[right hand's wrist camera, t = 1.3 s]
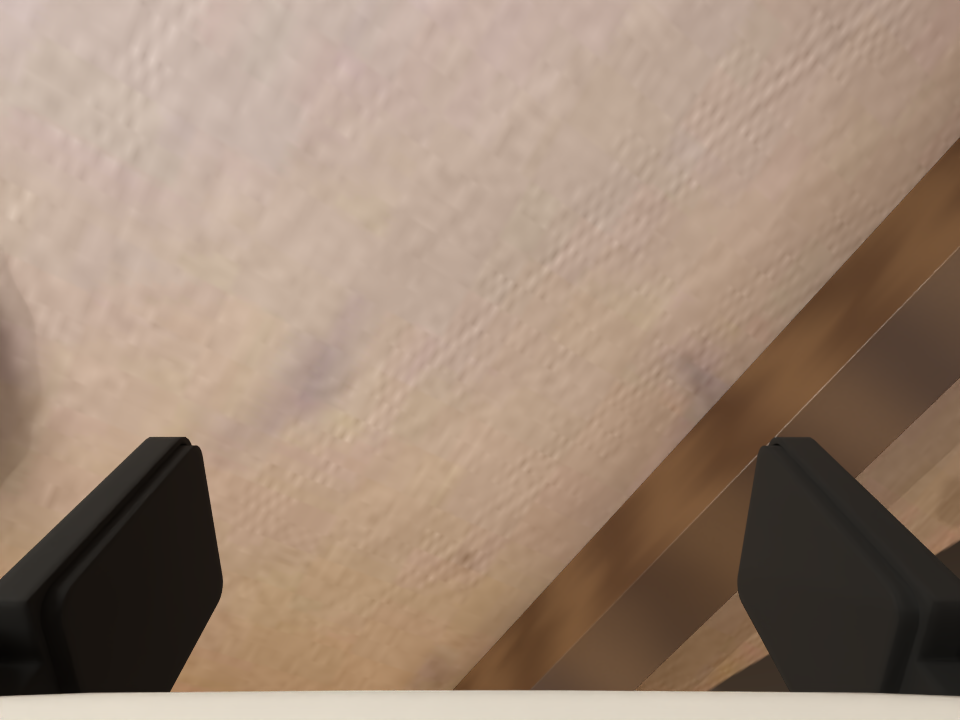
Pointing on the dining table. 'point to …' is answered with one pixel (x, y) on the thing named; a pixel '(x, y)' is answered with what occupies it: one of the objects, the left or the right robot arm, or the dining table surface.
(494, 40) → the dining table surface
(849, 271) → the bar
